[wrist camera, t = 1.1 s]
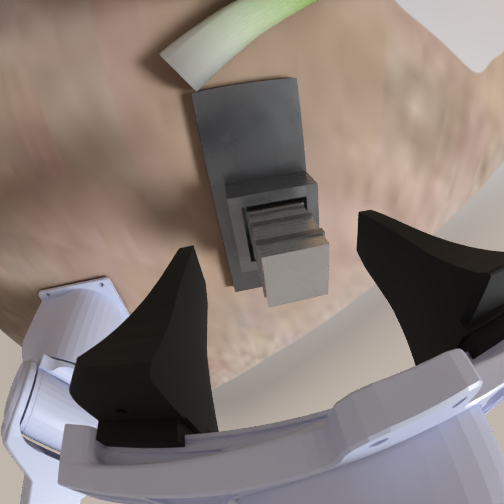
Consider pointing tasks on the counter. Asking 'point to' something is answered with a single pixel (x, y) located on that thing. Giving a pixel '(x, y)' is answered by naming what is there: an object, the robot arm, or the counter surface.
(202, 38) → the leek
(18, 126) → the counter surface
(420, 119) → the counter surface
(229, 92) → the stand
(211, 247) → the counter surface
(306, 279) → the column
